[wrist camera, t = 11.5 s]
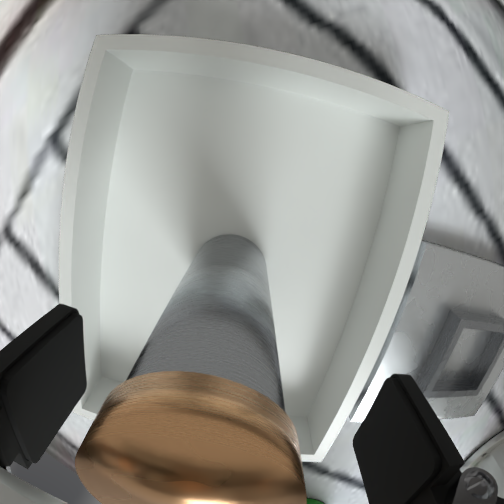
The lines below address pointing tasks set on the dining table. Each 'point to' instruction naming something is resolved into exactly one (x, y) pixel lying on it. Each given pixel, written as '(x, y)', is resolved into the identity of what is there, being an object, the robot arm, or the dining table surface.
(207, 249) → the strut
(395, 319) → the socket plate
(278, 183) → the bin
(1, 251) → the dining table surface
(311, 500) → the motor
